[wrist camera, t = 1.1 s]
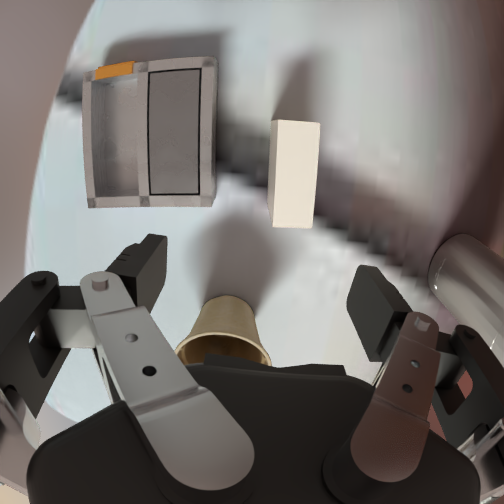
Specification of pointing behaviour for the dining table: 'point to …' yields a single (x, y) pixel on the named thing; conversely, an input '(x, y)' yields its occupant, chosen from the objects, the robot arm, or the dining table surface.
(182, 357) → the flower pot
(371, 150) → the dining table surface
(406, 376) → the robot arm
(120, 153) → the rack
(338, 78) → the dining table surface
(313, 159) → the panel
